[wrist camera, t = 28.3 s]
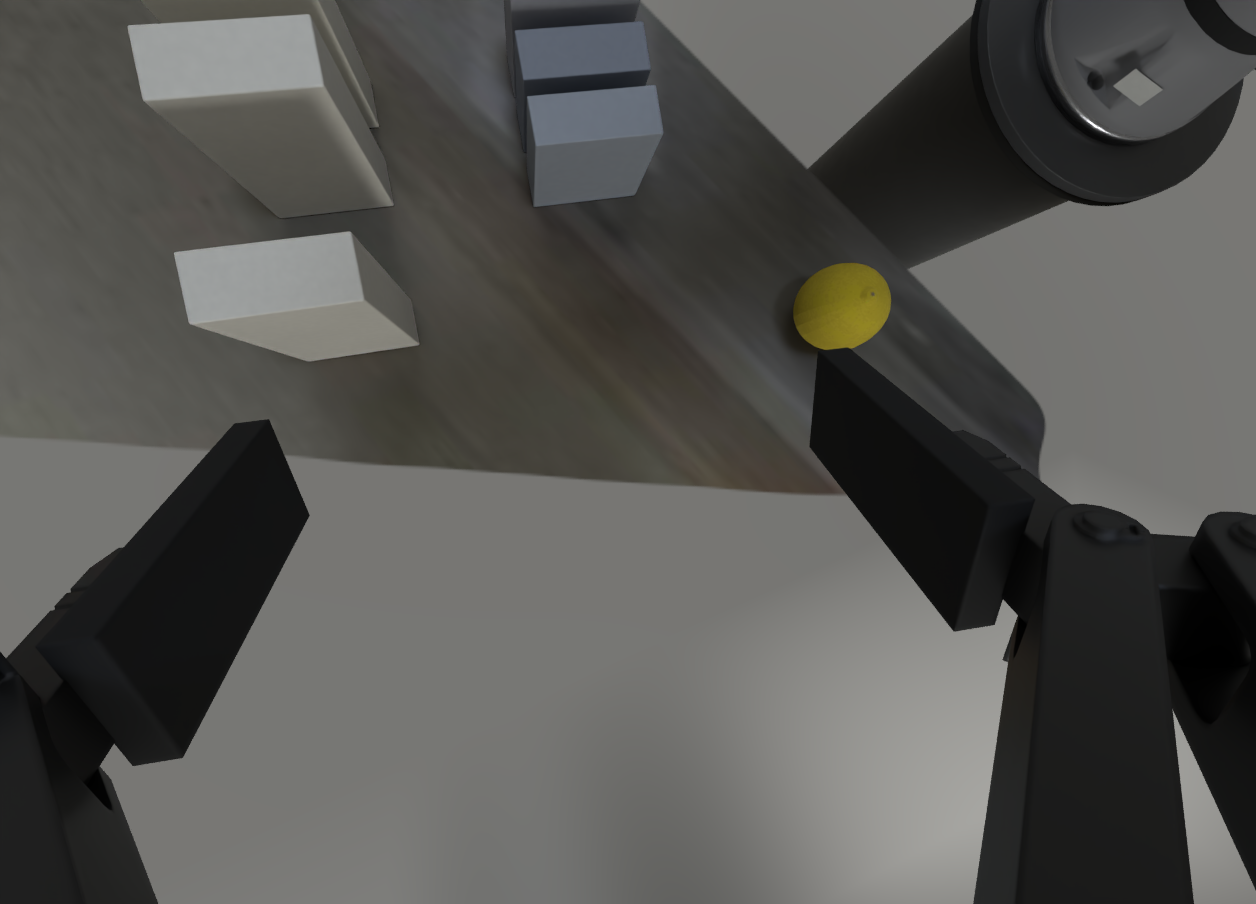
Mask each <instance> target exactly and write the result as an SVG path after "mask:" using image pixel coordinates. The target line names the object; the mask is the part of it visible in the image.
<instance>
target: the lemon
mask: <svg viewBox="0 0 1256 904" xmlns="http://www.w3.org/2000/svg"><path fill="white" fill-rule="evenodd" d="M890 305H891V296H890V290H889V288H888V285H887V283H886V281H885V280H884V278H883V277H882V276H881V275H880V274H879V273H878V272H877V271H876V270H874V269H872V268H870V267H868V266H866V265H862V264H858V263H840V264H835V265H832V266H829V267H827V268H824V269H822V270H820V271H819V272H817V273H816V274H814V275H813V276H811V277H810V278H809V279H808V280H807V281H806V282H805V284H804V285H803V286H802V287H801V288H800V290H799V292H798V294H797V296H796V299H795V303H794V308H793V318H794V322H795V325H796V328H797V330H798V331H799V333H800V335H801V336H802V337H803V338H804V339H805V340H806V341H807V342H808V343H810V344H812V345H813V346H815V347H818V348H821V349H824V350H830V349H838V348H846V347H848V348H849V349H850V348H854V347H856V346H858V345H860V344H862V343H864V342H866V341H867V340H869V339H870V338H871V337H872V336H874V335H875V334H876V333H877V332H878V331H879V330H880V329H881V327H882V326H883V324H884V323H885V321H886V320H887V317H888V314H889V311H890Z"/></svg>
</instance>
